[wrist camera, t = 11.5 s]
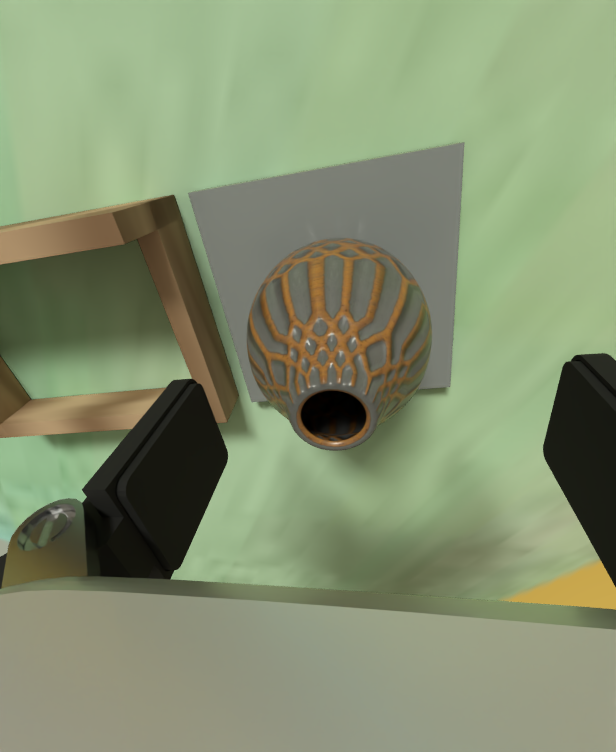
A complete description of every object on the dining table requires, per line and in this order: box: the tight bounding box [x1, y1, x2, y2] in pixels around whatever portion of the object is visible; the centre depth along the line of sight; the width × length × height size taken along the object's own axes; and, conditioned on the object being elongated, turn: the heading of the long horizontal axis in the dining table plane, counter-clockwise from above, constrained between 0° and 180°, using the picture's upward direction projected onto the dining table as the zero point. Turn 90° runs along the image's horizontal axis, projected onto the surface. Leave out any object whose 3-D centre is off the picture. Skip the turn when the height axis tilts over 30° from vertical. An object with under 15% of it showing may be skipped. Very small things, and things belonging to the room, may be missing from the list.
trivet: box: [188, 142, 464, 402], centre depth 17 cm, size 11×11×1 cm
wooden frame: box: [0, 195, 239, 438], centre depth 18 cm, size 15×11×5 cm
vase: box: [247, 238, 432, 451], centre depth 13 cm, size 7×7×9 cm
